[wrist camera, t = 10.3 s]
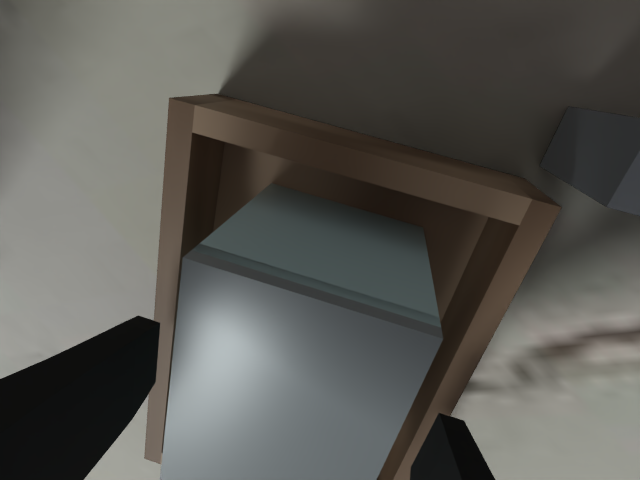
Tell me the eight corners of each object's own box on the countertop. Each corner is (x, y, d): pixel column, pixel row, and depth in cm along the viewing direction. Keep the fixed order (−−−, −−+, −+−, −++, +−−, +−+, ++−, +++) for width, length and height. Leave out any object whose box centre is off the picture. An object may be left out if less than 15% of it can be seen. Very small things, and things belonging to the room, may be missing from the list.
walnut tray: (524, 178, 10) (561, 207, 8) (384, 472, 15) (382, 541, 13) (217, 93, 11) (169, 97, 8) (180, 403, 16) (144, 458, 14)
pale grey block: (423, 227, 11) (443, 338, 6) (346, 425, 14) (322, 594, 9) (271, 183, 11) (183, 257, 6) (231, 387, 14) (154, 532, 10)
